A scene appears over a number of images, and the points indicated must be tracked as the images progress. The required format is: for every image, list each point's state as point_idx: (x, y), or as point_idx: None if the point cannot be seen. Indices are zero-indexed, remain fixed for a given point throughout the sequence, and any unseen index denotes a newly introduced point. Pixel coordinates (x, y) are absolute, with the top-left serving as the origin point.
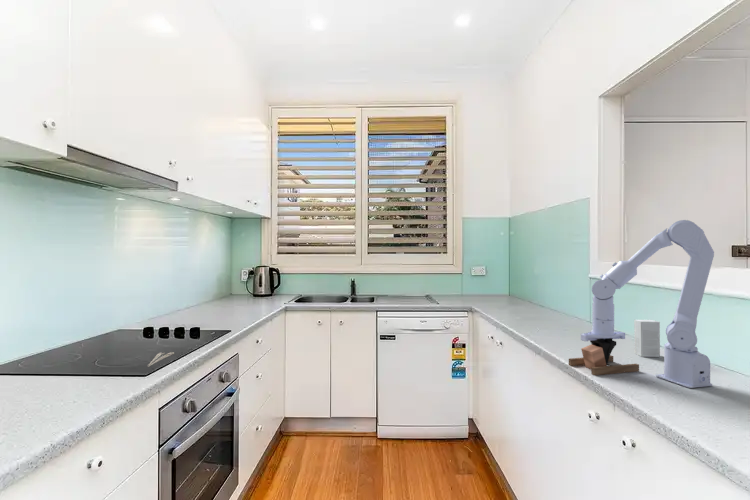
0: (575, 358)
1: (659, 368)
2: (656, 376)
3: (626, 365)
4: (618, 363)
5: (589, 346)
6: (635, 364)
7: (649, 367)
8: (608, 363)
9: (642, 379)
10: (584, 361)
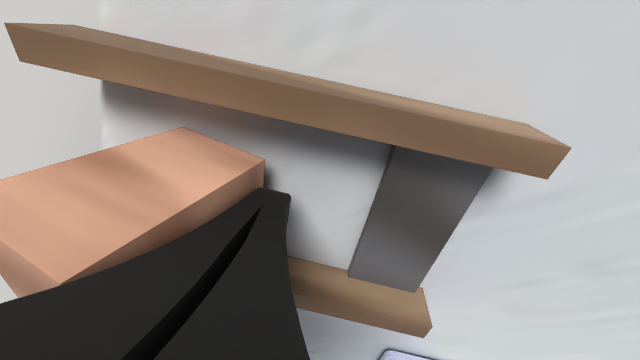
0: (82, 53)
1: (586, 328)
2: (386, 351)
3: (332, 314)
4: (467, 207)
5: (26, 268)
6: (406, 329)
7: (566, 302)
8: (397, 174)
9: (303, 331)
10: (139, 141)
